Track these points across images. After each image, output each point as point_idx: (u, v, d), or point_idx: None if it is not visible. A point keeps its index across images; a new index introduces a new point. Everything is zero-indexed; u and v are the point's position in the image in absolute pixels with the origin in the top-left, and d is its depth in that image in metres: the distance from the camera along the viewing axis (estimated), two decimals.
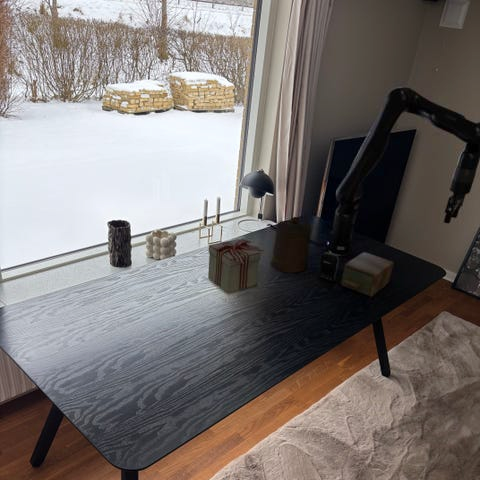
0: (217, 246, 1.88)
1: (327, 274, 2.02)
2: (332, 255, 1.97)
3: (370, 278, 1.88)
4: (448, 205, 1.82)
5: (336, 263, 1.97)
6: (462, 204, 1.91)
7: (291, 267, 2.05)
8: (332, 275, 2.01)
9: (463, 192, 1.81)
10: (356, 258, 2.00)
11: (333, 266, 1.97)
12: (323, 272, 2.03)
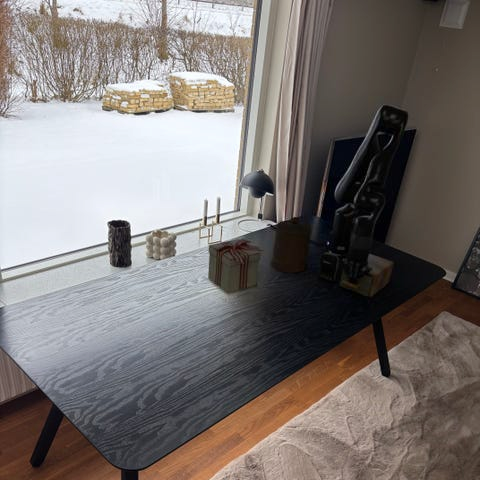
0: (217, 246, 1.88)
1: (327, 274, 2.02)
2: (332, 255, 1.97)
3: (369, 279, 1.88)
4: None
5: (336, 263, 1.97)
6: (359, 276, 1.85)
7: (291, 267, 2.05)
8: (332, 275, 2.01)
9: (348, 253, 1.82)
10: None
11: (333, 266, 1.97)
12: (323, 272, 2.03)
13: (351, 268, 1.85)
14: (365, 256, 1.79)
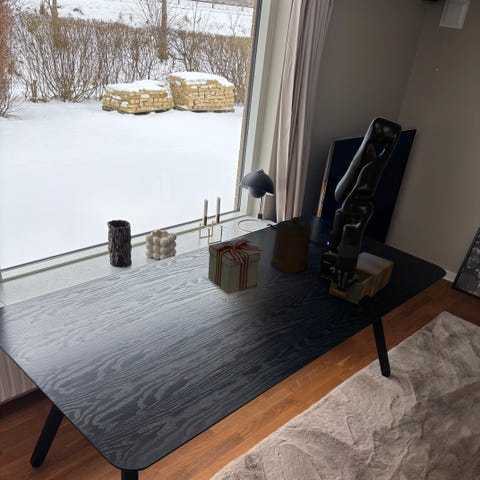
0: (217, 246, 1.88)
1: (327, 274, 2.02)
2: (332, 255, 1.97)
3: (359, 286, 1.82)
4: None
5: None
6: (347, 286, 1.79)
7: (291, 267, 2.05)
8: None
9: (336, 262, 1.77)
10: None
11: (333, 266, 1.97)
12: (323, 272, 2.03)
13: (339, 277, 1.79)
14: (353, 265, 1.74)
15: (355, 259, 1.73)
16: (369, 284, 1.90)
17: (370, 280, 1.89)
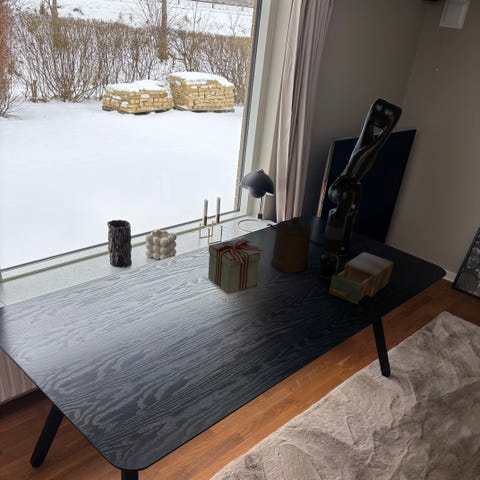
0: (217, 246, 1.88)
1: None
2: None
3: (359, 286, 1.82)
4: None
5: (336, 263, 1.97)
6: None
7: (291, 267, 2.05)
8: None
9: None
10: (356, 258, 2.00)
11: (333, 266, 1.97)
12: None
13: None
14: (325, 244, 1.93)
15: (326, 239, 1.92)
16: (369, 284, 1.90)
17: (370, 280, 1.89)
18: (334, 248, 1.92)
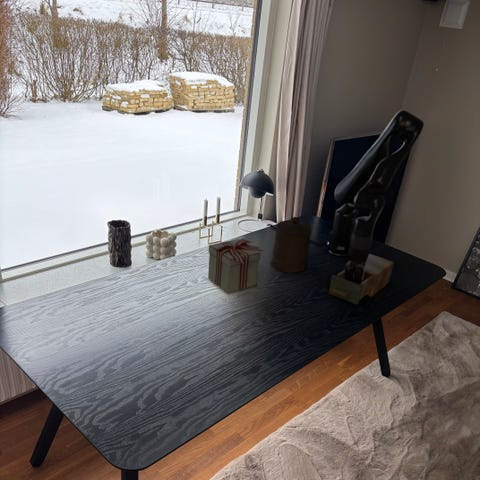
0: (217, 246, 1.88)
1: None
2: None
3: (358, 287, 1.81)
4: None
5: (362, 274, 1.85)
6: None
7: (291, 267, 2.05)
8: None
9: None
10: None
11: (359, 277, 1.85)
12: None
13: None
14: (351, 254, 1.81)
15: (352, 249, 1.80)
16: (369, 284, 1.89)
17: (370, 280, 1.89)
18: (361, 259, 1.80)
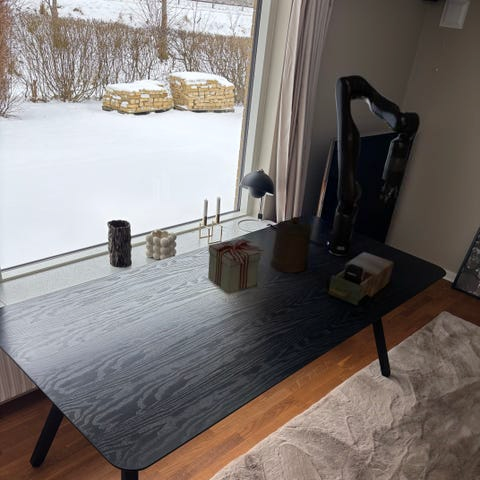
0: (217, 246, 1.88)
1: None
2: (357, 266, 1.85)
3: (358, 287, 1.81)
4: None
5: (361, 275, 1.85)
6: (378, 198, 1.87)
7: (291, 267, 2.05)
8: None
9: None
10: (356, 258, 2.00)
11: (358, 278, 1.84)
12: None
13: None
14: (385, 177, 1.85)
15: (387, 171, 1.83)
16: (368, 285, 1.89)
17: (369, 281, 1.88)
18: (395, 181, 1.83)
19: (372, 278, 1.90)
